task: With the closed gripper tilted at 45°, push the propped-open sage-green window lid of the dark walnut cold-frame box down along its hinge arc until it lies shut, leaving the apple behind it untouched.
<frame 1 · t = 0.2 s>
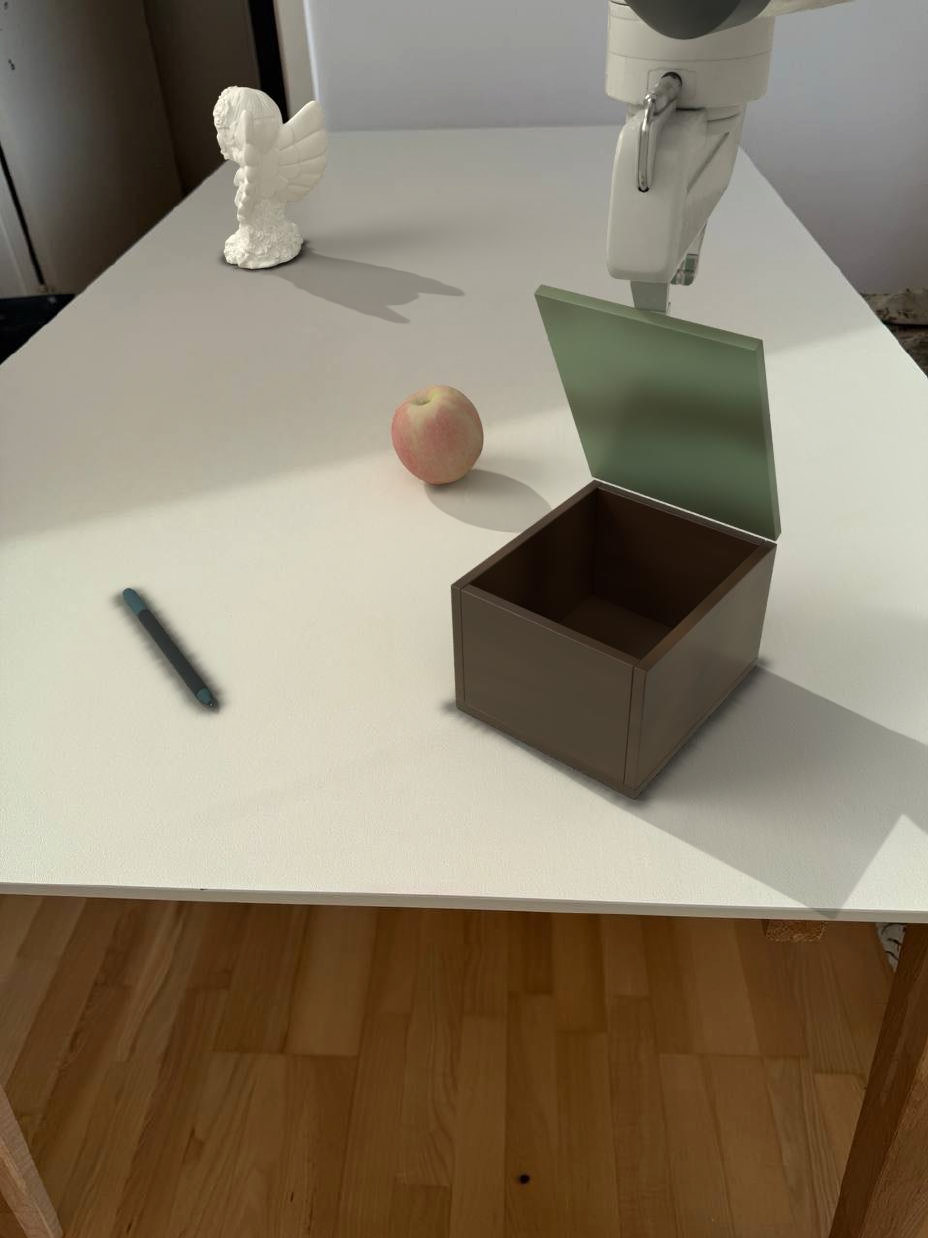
hand: (667, 306, 68), 22 cm above the table, tool pointing down, fingers open, 8 cm apart
coldframe: (608, 685, 73), on the table
apple: (439, 478, 96), on the table
cherub figurine: (274, 254, 143), on the table
pen: (166, 652, 77), on the table
lid: (664, 418, 65), point 18 cm above the table, hinge at 65.0°
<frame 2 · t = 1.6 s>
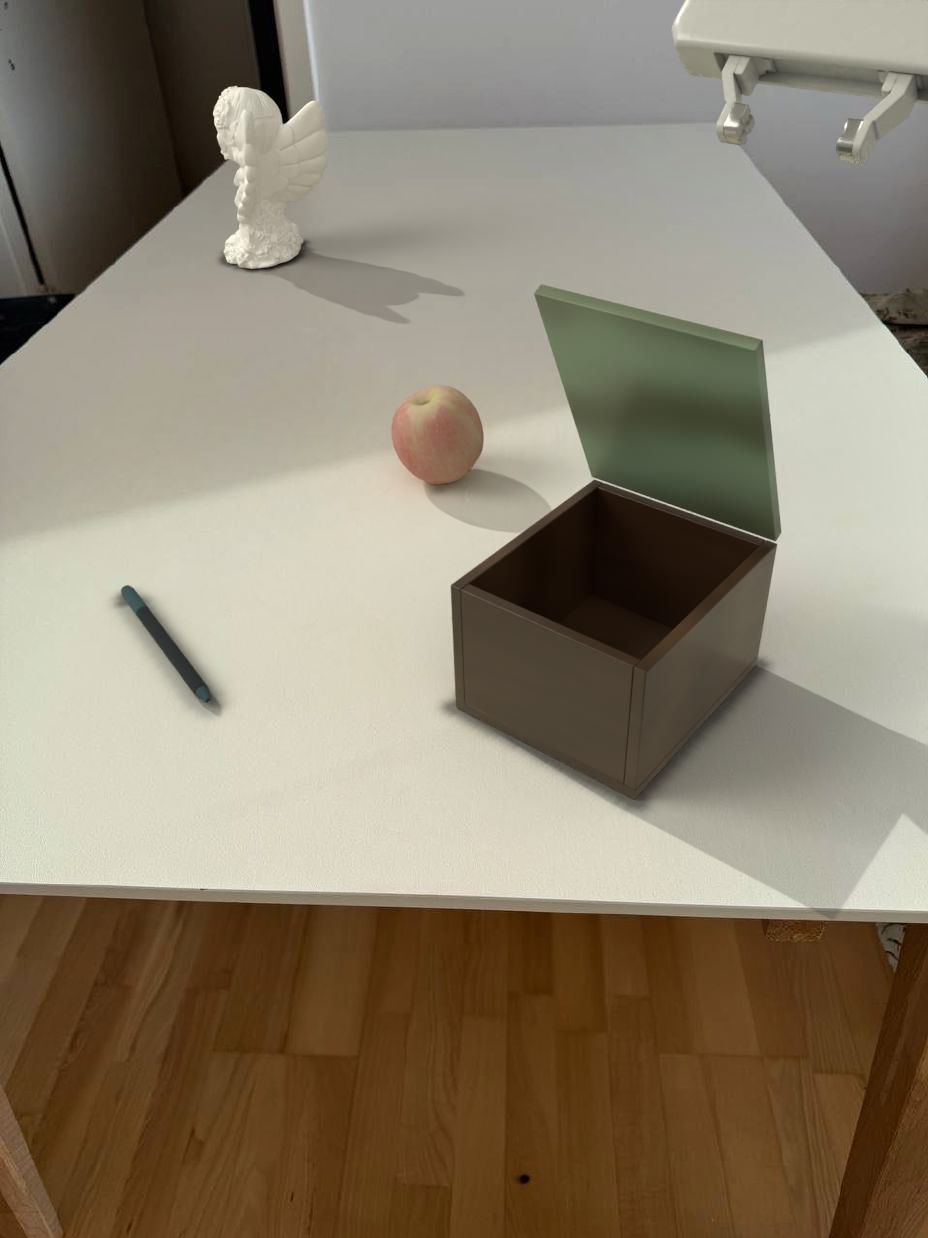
hand: (787, 147, 64), 30 cm above the table, tool tilted 45°, fingers open, 6 cm apart
nothing on the table moved.
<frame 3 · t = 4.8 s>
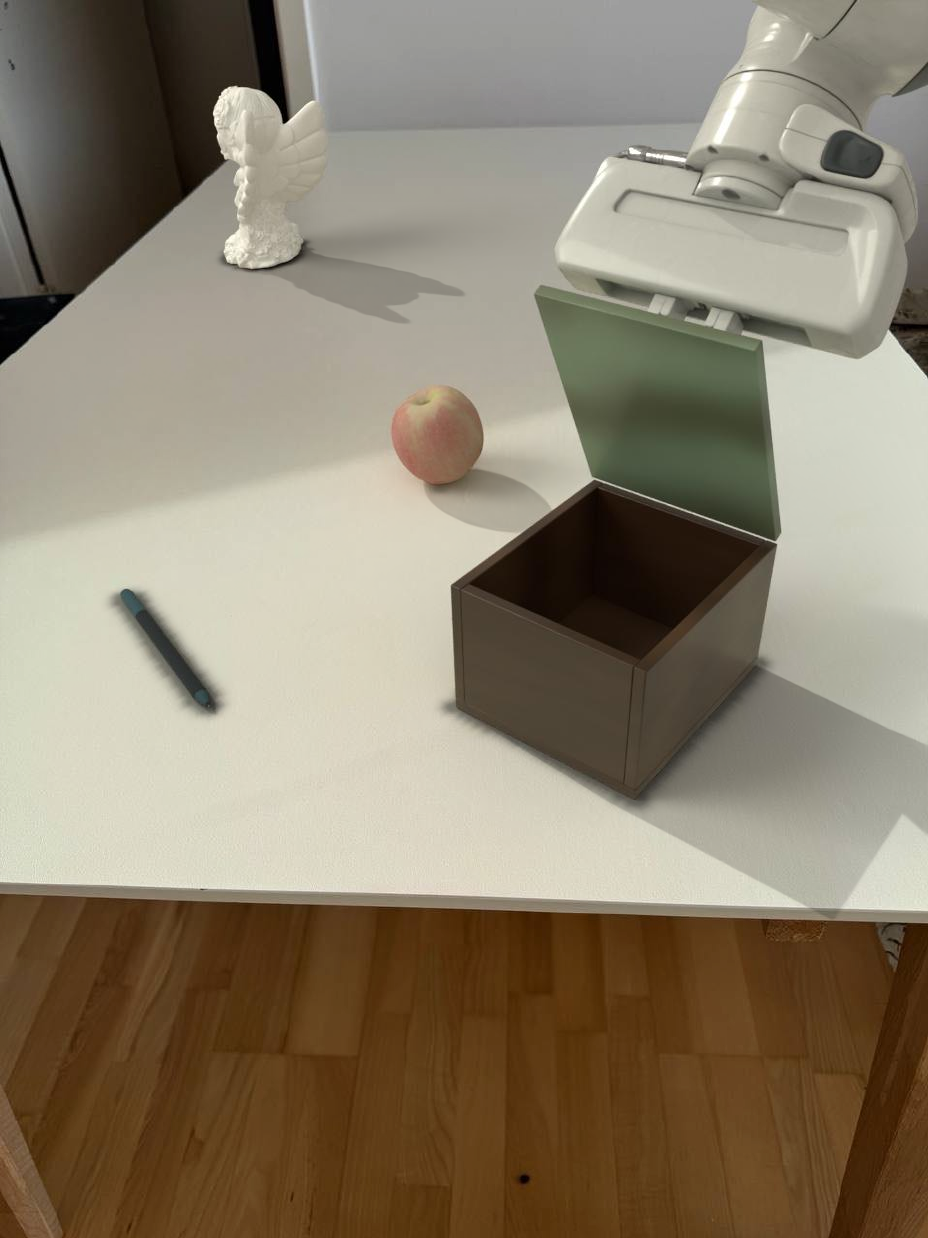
hand: (665, 384, 63), 20 cm above the table, tool tilted 45°, fingers closed, pressing on lid
lid: (663, 419, 65), point 18 cm above the table, hinge at 64.8°, touching gripper
everything else where it was.
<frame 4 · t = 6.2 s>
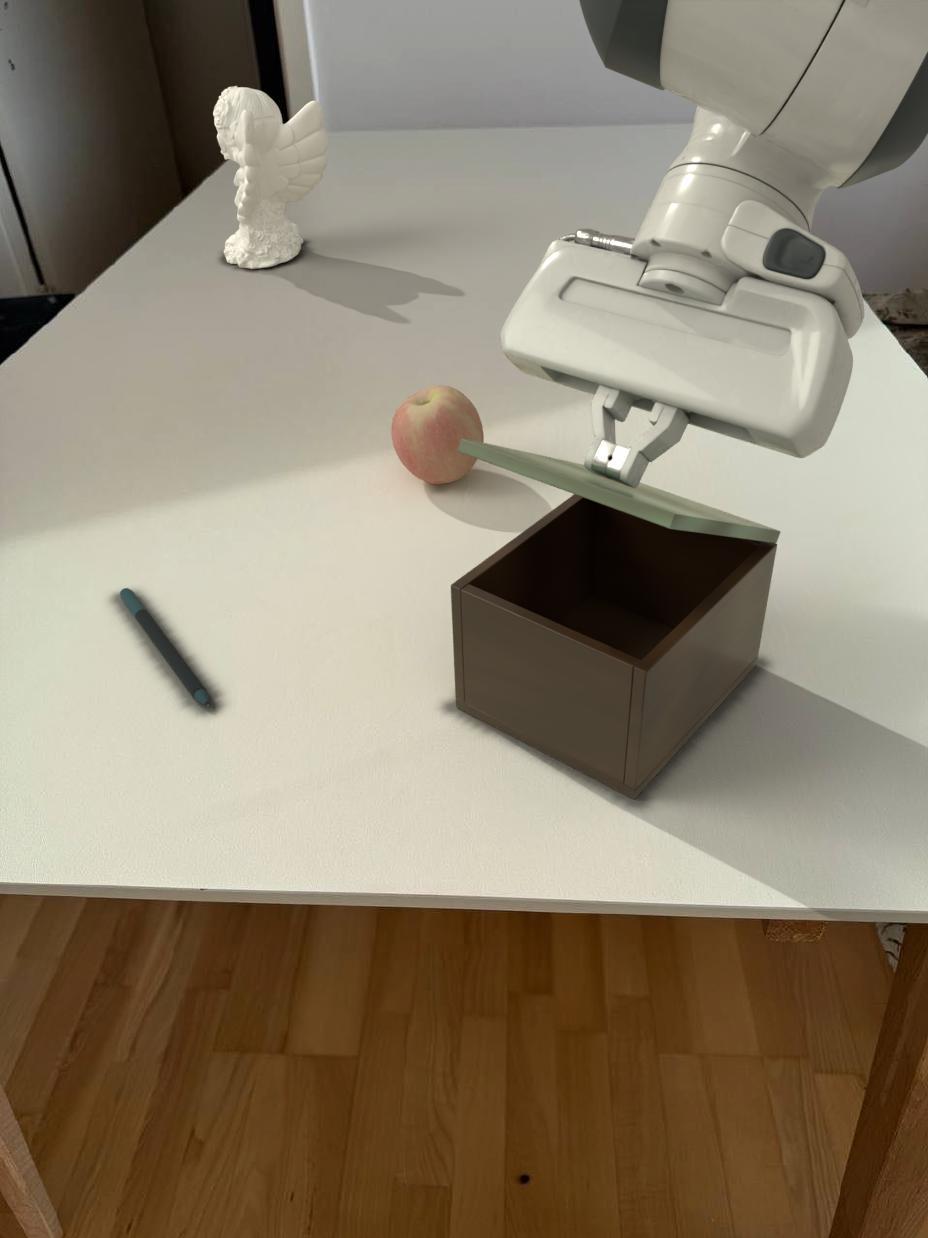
hand: (608, 477, 62), 16 cm above the table, tool tilted 45°, fingers closed
lid: (627, 493, 64), point 14 cm above the table, hinge at 30.4°, touching gripper
everything else where it was.
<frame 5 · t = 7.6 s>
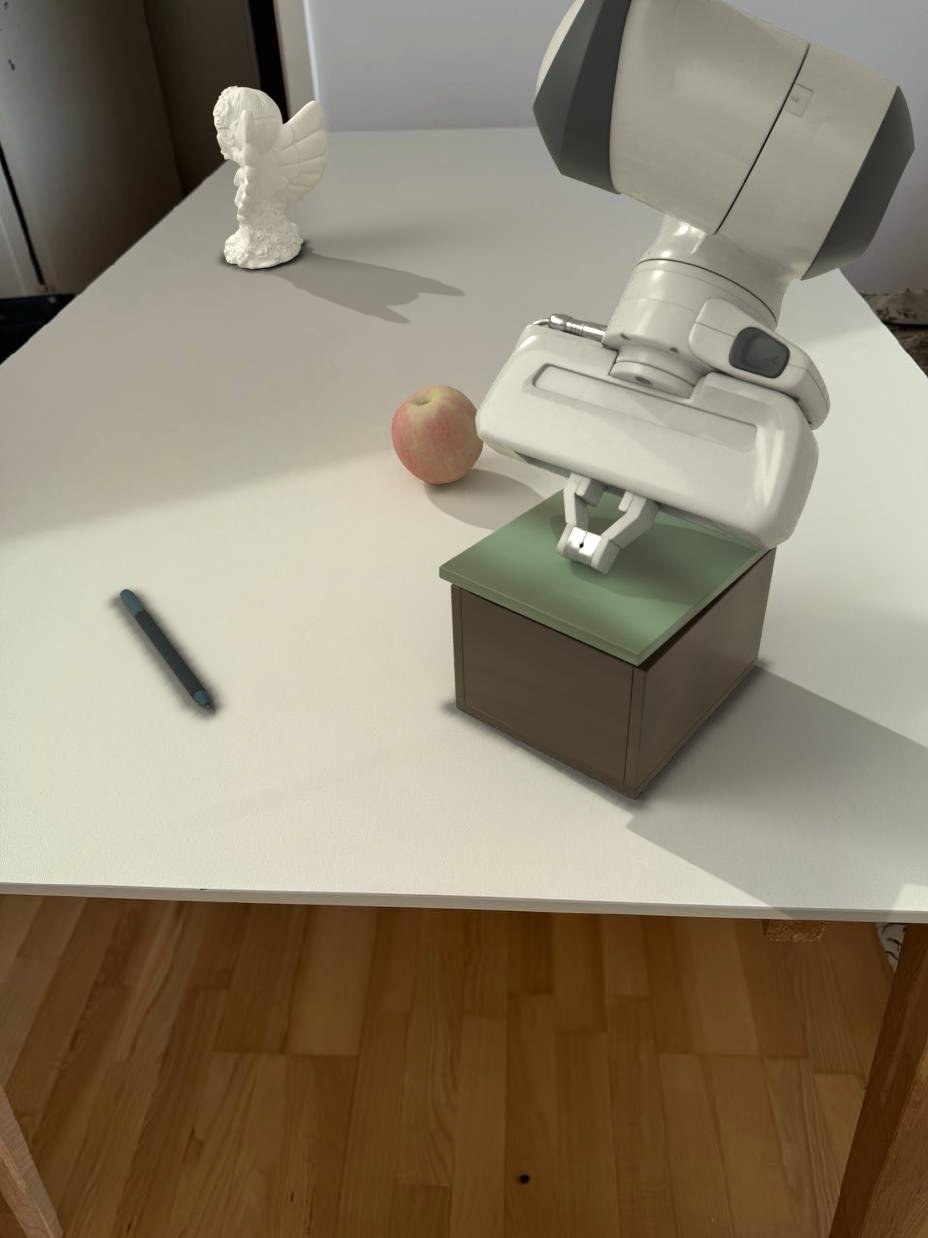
hand: (580, 563, 63), 12 cm above the table, tool tilted 45°, fingers closed, pressing on lid
lid: (613, 554, 66), point 11 cm above the table, hinge at 3.5°, touching gripper
everything else where it was.
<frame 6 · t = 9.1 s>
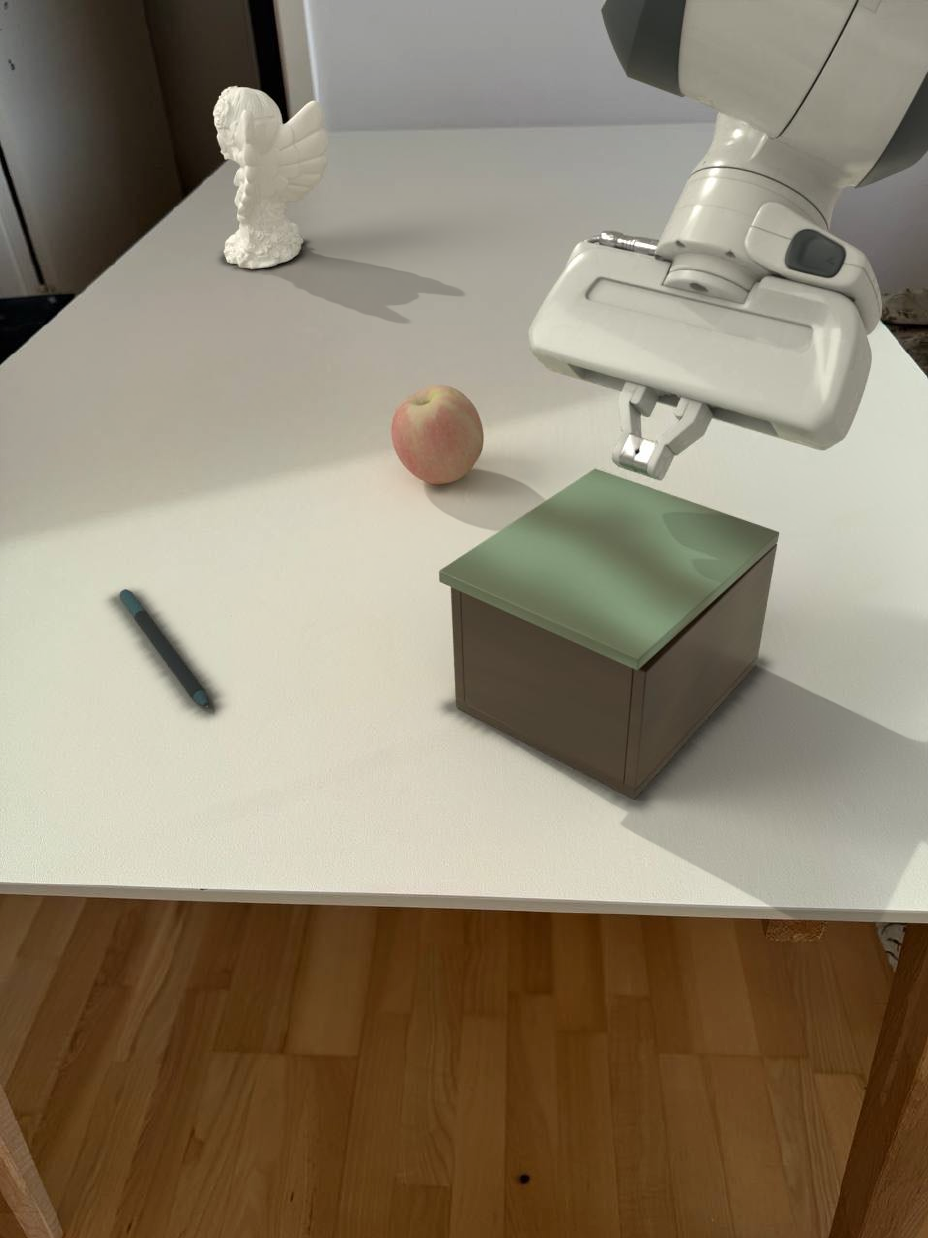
hand: (635, 470, 64), 16 cm above the table, tool tilted 45°, fingers closed
lid: (613, 556, 66), point 11 cm above the table, hinge at 2.5°
everything else where it was.
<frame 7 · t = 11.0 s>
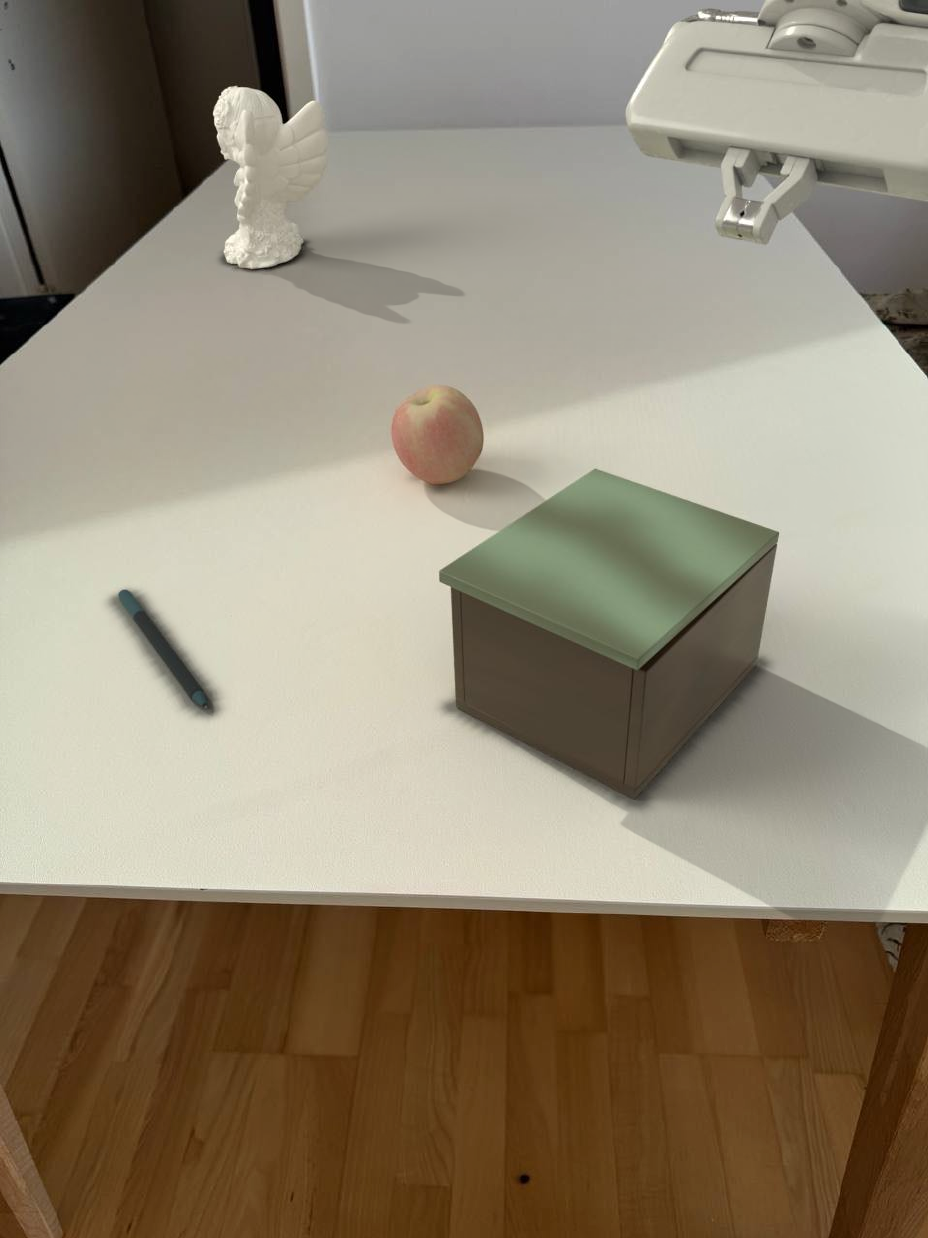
hand: (739, 235, 64), 27 cm above the table, tool tilted 45°, fingers closed
nothing on the table moved.
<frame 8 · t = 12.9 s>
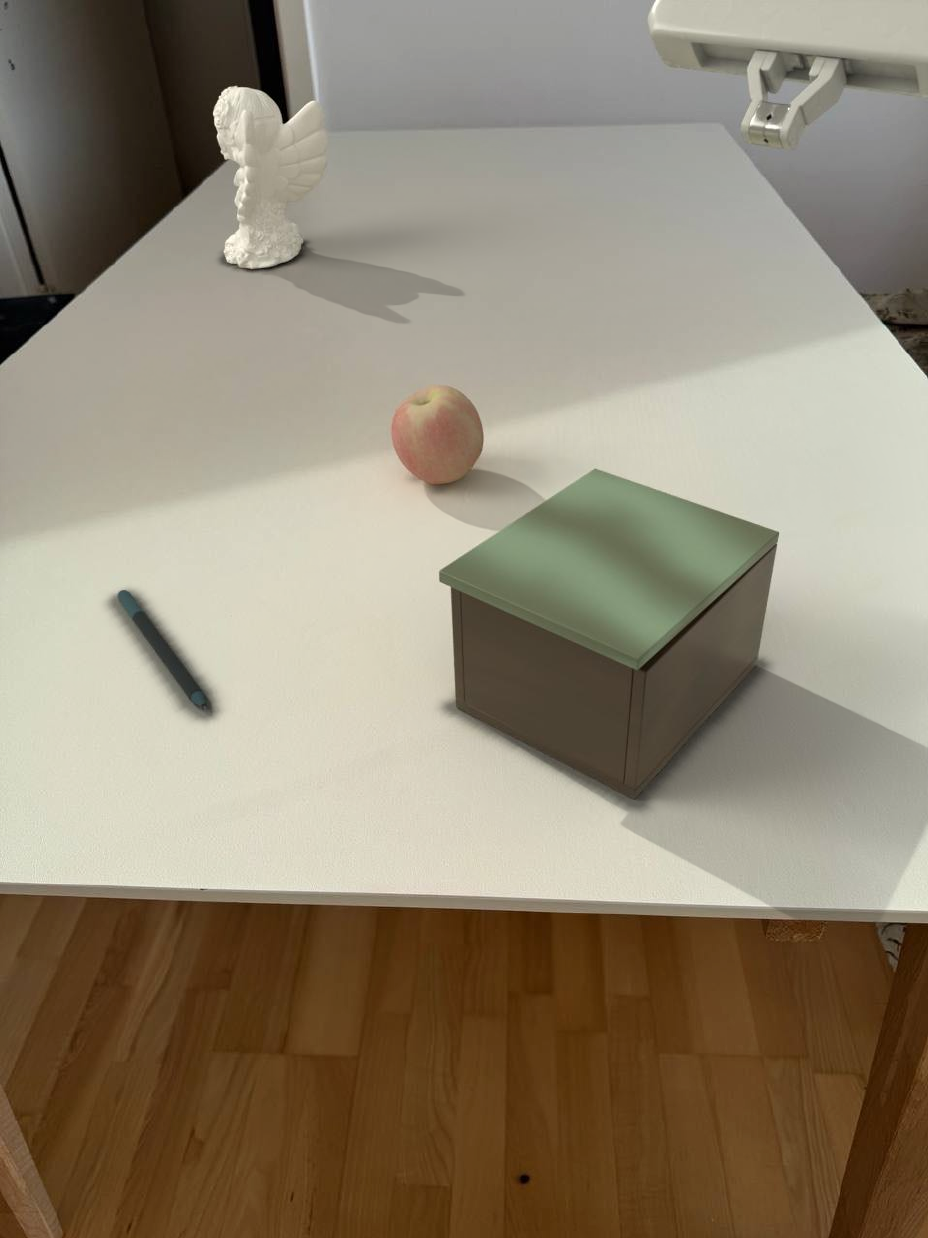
hand: (765, 140, 62), 31 cm above the table, tool tilted 45°, fingers closed
nothing on the table moved.
at the end: lid at +2° (first picture: +65°); apple moved 0.2 cm from its start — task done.
